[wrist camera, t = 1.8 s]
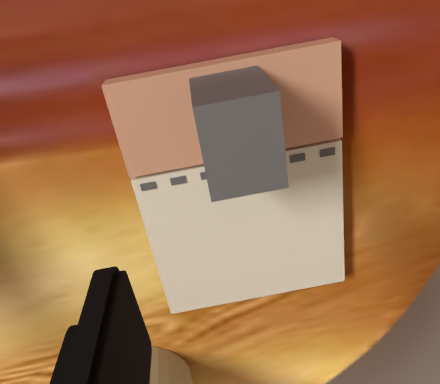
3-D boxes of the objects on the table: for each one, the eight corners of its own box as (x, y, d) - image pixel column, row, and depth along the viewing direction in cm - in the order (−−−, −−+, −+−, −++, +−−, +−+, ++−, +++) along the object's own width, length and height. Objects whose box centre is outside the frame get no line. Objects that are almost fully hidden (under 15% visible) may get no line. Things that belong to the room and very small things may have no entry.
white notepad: (338, 268, 33) (345, 281, 32) (171, 300, 33) (171, 314, 32) (334, 133, 28) (342, 141, 26) (133, 171, 28) (130, 181, 26)
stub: (334, 129, 27) (385, 178, 21) (131, 168, 27) (117, 228, 21) (332, 37, 25) (388, 59, 18) (105, 79, 25) (78, 117, 18)
